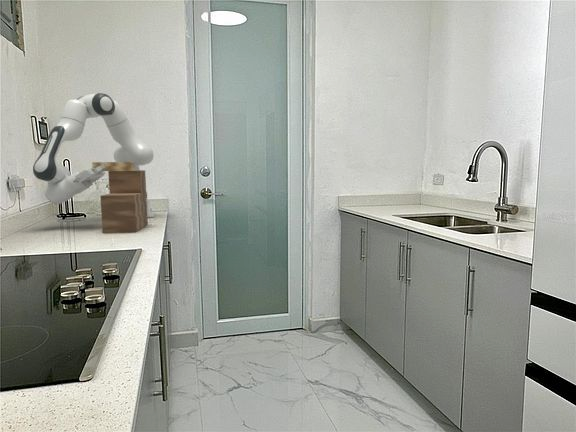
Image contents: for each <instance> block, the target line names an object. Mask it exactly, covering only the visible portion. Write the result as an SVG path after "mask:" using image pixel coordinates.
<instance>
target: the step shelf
mask: <svg viewBox="0 0 576 432" xmlns="http://www.w3.org/2000/svg"><path fill="white" fill-rule="evenodd" d="M107 172H108V189H109V193H106V194H102V195H100V196H99V197H100V211H101V228H102V231H101V232H102V234H121V233H122V234H123V233H124V234H126V233H127V234H128V233H129V234H130V233H138V232H139V231H141V230H142V229H144V228H146V227H147V226H148V225H149V224H148V223H149V221H148V217H147V199H148V197H147V198H146V191H147V182H146V181H147V179H146V178H147V177H146V170H141V169H140V170H135V171H107Z"/></svg>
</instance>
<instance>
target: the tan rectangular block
mask: <svg viewBox="0 0 576 432" xmlns="http://www.w3.org/2000/svg"><path fill="white" fill-rule="evenodd" d="M102 164H104V165H105V166H106V168H104V169H102V170H101V171H104V172H108V171H135V166H134V162H116V161H110V162H109V161H105V162H104V161H103V162H102V161H100V162H99V161H97V162H94V161H93V162H92V163H91V168H96V167H99V166H101V165H102Z"/></svg>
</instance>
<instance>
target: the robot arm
mask: <svg viewBox="0 0 576 432" xmlns="http://www.w3.org/2000/svg"><path fill="white" fill-rule="evenodd" d="M59 116H60V117H59V119H58V122H57V124H56V126H54V127H53V128H52V129H51V130H50V132H49V134H48V137H47V139H46V141H45V144H44V145H43V148H42V150H41V152H40V154H39V156H38V158H37V159H36V160H35V161H34V164H33V167H32V172H33V175H34V176H35V178H37V179H38V180H41V181H44V182H47V185H46V186H47V187H46V190H45V192H44V196H45V198H47V200H48V201H49V202H50V203H53V204H55V205H60V204H63V203H65V202H67V201H69V200H70V199H73V198H74V197H75V196H76V195H79V194H81V193H82V192H84V191H85V190H88V189H89V188H90V187H91V186H93V184H94V183H95V182H97V181H98V180H100V179H101V178H102V177H104V176H105V175H106V171H101V170H102V169H104V168H106V166H105V165H104V164H102V165H101V166H99V167H96V168H92V167H89V168H88V167H87V168H85V169H83V170H82V171H80V170H77V171H75V172H74V173H71V171H70V170H69V168H67V167H66V166H64V165H63V164H61V163H59V162H57V161H56V158H57V155H58V153H59V151H60V148H61V146H62V144H63V143H65V142H69V141H70V142H71V141H72V142H73V141H76V140H78V139H80V138H81V136H82V135H83V132H84V129H85V125H86V120H87V119H89V118H99V117H101V118H102V119H103V121H104V123H105V125H106V128H107V130H108V131H109V133H110V135H111V137H112V139H113V140H114V141H115V142H116V143H117V144H118V145H120V146H118V147H117V148H116V149H114V152H113V159H114V162H134V166H135V170H141V169H140V168H141V167H140V166H145V165H149V164H150V163H152V162H153V160H154V154H155V153H154V151H153V149H152V147H150V146H148V145H146V143H145V142H143V141H142V139H140V137H139V136H138V135H137V133H136V132H135V131H134V129H133V126H132V125H131V123H130V121H129V119H128V117H127V114H126V113H125V111H124V110H123V108H122V107H121V105H120V104H119V103H118V101H116V100H113V98H112V97H110V96H109V95H108V94H106V93H103V92H98V93H89V94H87V95H83V96H79V97H78V98H76V99H68V100H67V101H66V103H65V105H64V106H63V108H62V111H61V113H60V115H59ZM146 198H147V218H154V217H155V212H151V211H152V208H151V205H150V201H149V200H148V192H147V190H146Z"/></svg>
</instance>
